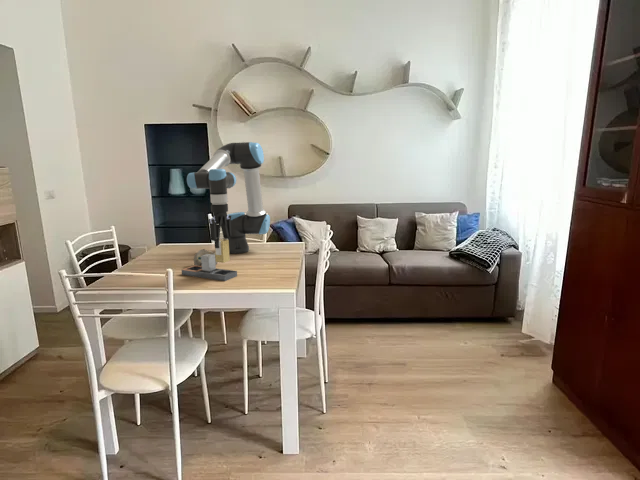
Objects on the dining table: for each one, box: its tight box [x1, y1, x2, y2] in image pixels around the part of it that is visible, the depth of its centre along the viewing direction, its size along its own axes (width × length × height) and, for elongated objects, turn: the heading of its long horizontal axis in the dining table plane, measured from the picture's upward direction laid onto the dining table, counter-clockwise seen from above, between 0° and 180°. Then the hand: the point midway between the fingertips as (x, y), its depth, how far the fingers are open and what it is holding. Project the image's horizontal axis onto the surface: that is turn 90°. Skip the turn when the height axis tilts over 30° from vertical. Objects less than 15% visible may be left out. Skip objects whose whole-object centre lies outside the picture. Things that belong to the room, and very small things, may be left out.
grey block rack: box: [181, 264, 238, 282], centre depth 200 cm, size 9×26×3 cm, turn 64°
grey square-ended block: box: [201, 254, 217, 273], centre depth 200 cm, size 4×4×10 cm
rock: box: [193, 248, 219, 266], centre depth 218 cm, size 12×7×10 cm, turn 93°
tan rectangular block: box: [214, 238, 231, 264], centre depth 195 cm, size 4×4×10 cm
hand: (222, 253), depth 195 cm, fingers closed on tan rectangular block, 4 cm apart
